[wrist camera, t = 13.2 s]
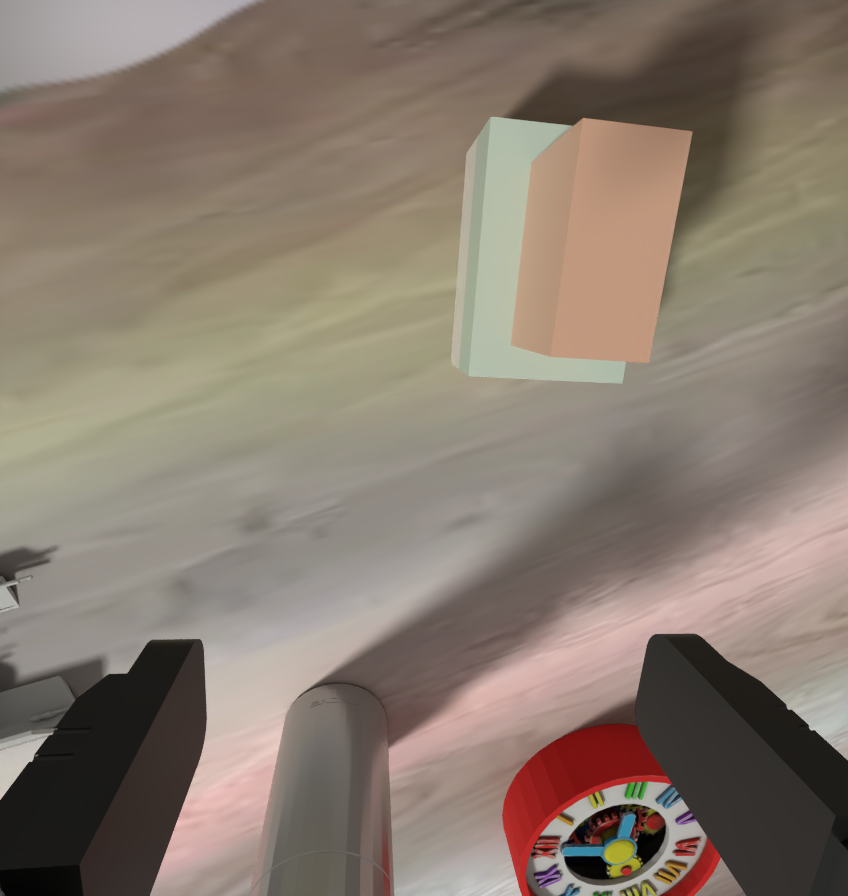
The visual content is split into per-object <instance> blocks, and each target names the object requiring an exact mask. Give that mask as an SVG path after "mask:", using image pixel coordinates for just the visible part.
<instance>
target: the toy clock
mask: <svg viewBox="0 0 848 896" xmlns="http://www.w3.org/2000/svg"><path fill="white" fill-rule="evenodd" d="M502 816H503V826H504V831H505V834H506V838H507V842H508V846H509V850H510V853H511V857H512V861H513V865H514V869H515V873H516V876H517V880H518V884H519V888H520V891H521V893H522V896H694V895H695V894H696V893H697V892H698V891H699V890H700V889H701V888H702V887H703V886H704V884H705V883H706V882H707V880H708V879H709V878H710V876H711V875H712V874H713V872H714V870H715V868H716V866H717V864H718V862H719V860H720V858H721V857H720V855H719V854H718V852H717V851H716V849H715V848H714V846H713V845H712V843H711V842H710V840H709V839H708V837H707V836H706V834H705V833H704V831H703V830H702V828H701V827H700V825H699V824H698V822H697V821H696V819H695V818H694V816H693V815H692V813H691V812H690V810H689V809H688V807H687V806H686V804H685V803H684V801H683V800H682V798H681V797H680V795H679V794H678V792H677V791H676V789H675V788H674V786H673V785H672V783H671V782H670V780H669V779H668V777H667V776H666V774H665V773H664V771H663V770H662V768H661V767H660V765H659V764H658V762H657V761H656V759H655V758H654V756H653V755H652V753H651V752H650V750H649V749H648V747H647V746H646V744H645V742H644V741H643V739H642V737H641V735H640V732H639V729H638V726H635V725H625V724H608V725H599V726H594V727H589V728H585V729H582V730H579V731H576V732H573V733H570V734H568V735H566V736H564V737H562V738H560V739H558V740H556V741H554V742H552V743H551V744H549V745H548V746H546V747H545V748H543V749H542V750H540V751H539V752H538V753H536V754H535V755H534V756H533V757H532V758H531V759H530V760H529V761H528V762H527V763H526V764H525V765H524V766H523V767H522V769H521V770H520V771H519V772H518V774H517V775H516V776H515V778H514V780H513V782H512V783H511V785H510V787H509V789H508V792H507V795H506V798H505V800H504V806H503V814H502Z"/></svg>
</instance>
